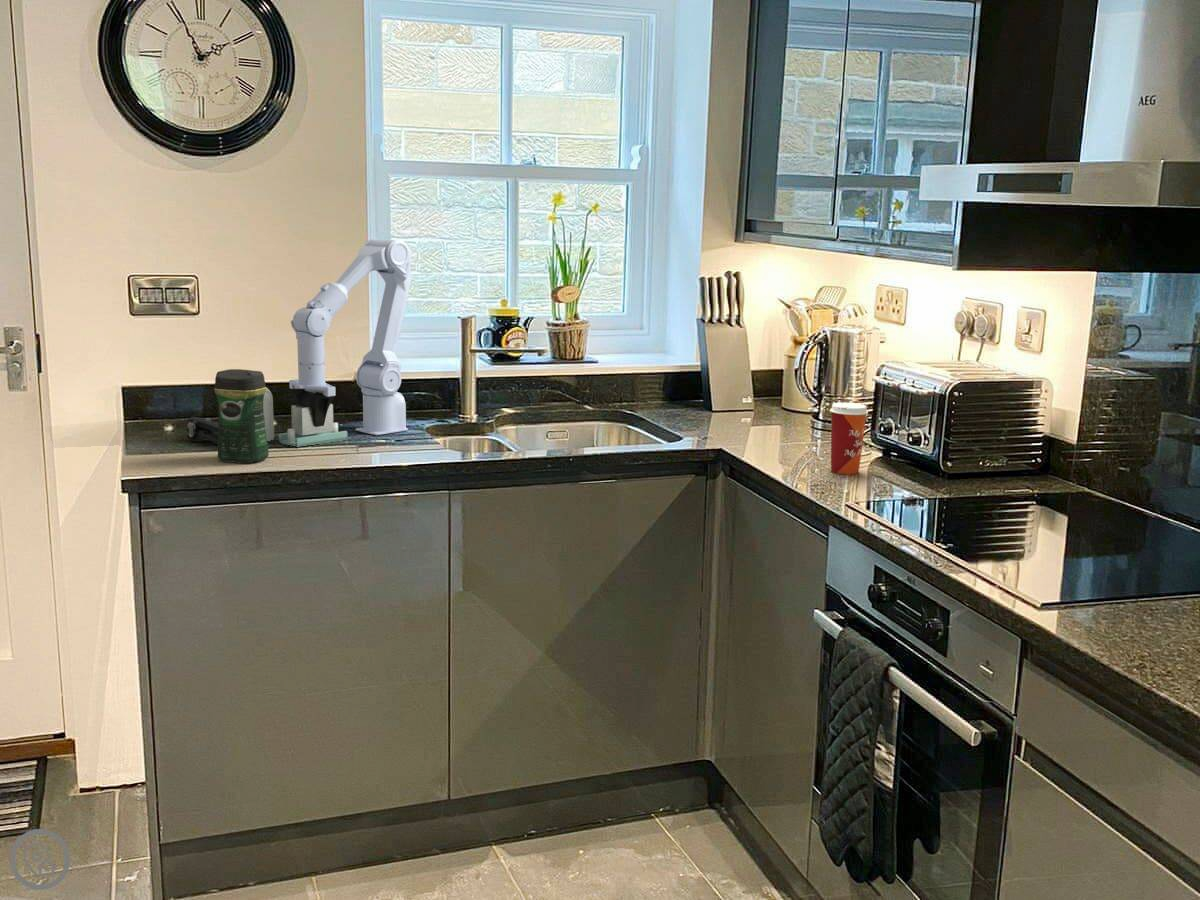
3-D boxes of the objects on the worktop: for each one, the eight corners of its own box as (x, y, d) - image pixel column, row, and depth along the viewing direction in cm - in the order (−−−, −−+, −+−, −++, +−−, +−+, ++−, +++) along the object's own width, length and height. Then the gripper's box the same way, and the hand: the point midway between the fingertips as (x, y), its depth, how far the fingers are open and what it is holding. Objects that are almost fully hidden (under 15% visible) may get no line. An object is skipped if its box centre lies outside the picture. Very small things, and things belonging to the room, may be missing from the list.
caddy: (328, 435, 263) (328, 420, 263) (347, 440, 259) (347, 424, 258) (278, 443, 254) (278, 427, 253) (297, 448, 249) (297, 432, 249)
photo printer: (239, 435, 261) (237, 381, 258) (257, 433, 264) (255, 379, 261) (258, 443, 253) (256, 387, 251) (277, 441, 256) (275, 385, 253)
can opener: (178, 441, 254) (177, 416, 253) (206, 437, 259) (205, 412, 258) (225, 453, 243) (224, 427, 242) (253, 448, 249) (253, 423, 247)
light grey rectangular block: (322, 428, 260) (322, 401, 259) (333, 430, 257) (332, 403, 256) (292, 432, 254) (291, 405, 253) (302, 435, 252) (301, 407, 250)
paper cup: (856, 477, 235) (861, 409, 233) (820, 472, 239) (824, 405, 237) (869, 470, 242) (874, 404, 239) (834, 465, 246) (838, 400, 243)
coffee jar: (274, 457, 240) (271, 368, 236) (253, 465, 232) (250, 373, 228) (233, 454, 242) (229, 365, 238) (211, 461, 235) (207, 370, 231)
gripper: (276, 361, 255) (278, 422, 257) (315, 368, 245) (316, 431, 248) (304, 358, 260) (305, 418, 263) (343, 365, 250) (344, 427, 253)
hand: (313, 424), depth 256 cm, fingers closed on light grey rectangular block, 4 cm apart
